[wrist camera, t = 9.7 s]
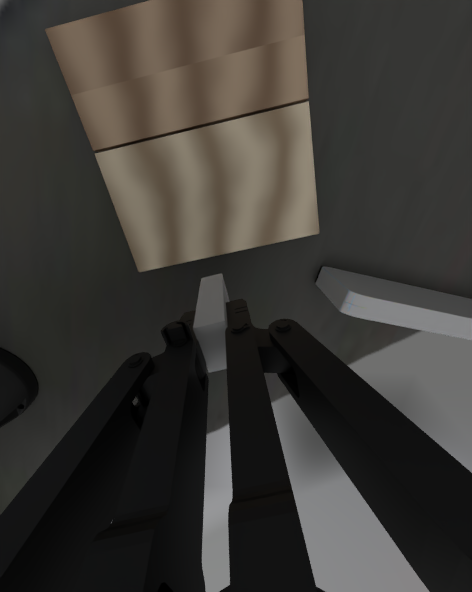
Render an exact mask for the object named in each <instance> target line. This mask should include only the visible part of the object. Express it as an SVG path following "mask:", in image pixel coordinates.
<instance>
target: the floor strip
mask: <svg viewBox="0 0 472 592" xmlns="http://www.w3.org/2000/svg"><path fill="white" fill-rule="evenodd" d="M45 31H46V33H47V36H48V38H49V41H50V43H51V46H52V48H53V51H54V53H55V56H56V58H57V61H58V63H59V66H60V68H61V71H62V73H63V76H64V78H65V81H66V83H67V86H68V88H69V91H70V93H71V96H72V98H73V101H74V104H75V106H76V109H77V111H78V114H79V116H80V119H81V121H82V124H83V126H84V129H85V131H86V134H87V136H88V139H89V141H90V144H91V146H92V149H93V151H96V152H100V151H104V150H109V149H113V148H117V147H121V146H125V145H129V144H133V143H137V142H141V141H145V140H149V139H154V138H158V137H162V136H166V135H170V134H174V133H178V132H182V131H186V130H190V129H194V128H198V127H203V126H207V125H211V124H215V123H219V122H223V121H227V120H231V119H235V118H239V117H243V116H248V115H252V114H256V113H260V112H264V111H268V110H272V109H276V108H280V107H284V106H288V105H292V104H297V103H301V102H305V101H306V100H307V99H308V98H309V97H308V81H307V66H306V50H305V35H304V19H303V4H302V0H150V1H146V2H142V3H139V4H135V5H132V6H128V7H124V8H121V9H117V10H113V11H110V12H106V13H102V14H99V15H95V16H92V17H88V18H84V19H81V20H77V21H73V22H70V23H66V24H62V25H59V26H55V27H52V28H48V29H45Z"/></svg>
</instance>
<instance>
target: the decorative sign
mask: <svg viewBox="0 0 472 592" xmlns="http://www.w3.org/2000/svg"><path fill="white" fill-rule="evenodd" d="M316 285H317V286H318V287H319V288H320V290H321V291H322V292H323V293H324V294H325V295H326V296H327V297H328V299H329V300H330V301H331V302H332V303H333V304H334V305H335V307H336V308H337V309H338V310H339V311H340V312H342V313H345V314H347V315H350V316H354V317H358V318H362V319H367V320H372V321H377V322H382V323H387V324H392V325H397V326H403V327H408V328H413V329H418V330H423V331H428V332H433V333H439V334H443V335H448V336H453V337H458V338H464V339H469V340H472V299H470V298H465V297H461V296H456V295H452V294H447V293H443V292H438V291H434V290H429V289H425V288H420V287H416V286H412V285H407V284H403V283H398V282H394V281H389V280H385V279H380V278H376V277H371V276H367V275H362V274H358V273H353V272H349V271H344V270H340V269H335V268H331V267H324V266H323V267H322V269H321V271H320V274H319V275H318V279H317V281H316Z"/></svg>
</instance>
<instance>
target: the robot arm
mask: <svg viewBox="0 0 472 592" xmlns="http://www.w3.org/2000/svg"><path fill="white" fill-rule="evenodd" d="M161 333H162V336H163V338H164V340H165V343H166V345H167V346H166V350H165V352H164V353H162V354H160V355H157V356H155V357H153V358H151V356H150V354H149V353H146V352H142V353H137V354H135V355H133V356H131V357H130V358H128V359H127V360H126V361H125V362H124V363H123V364H122V365H121V367H120V368H119V369H118V370H117V372H116V373H115V374H114V375H113V376H112V378H111V379H110V380H109V381H108V383H107V384H106V385H105V386H104V388H103V389H102V390H101V391H100V393H99V394H98V395H97V396H96V398H95V399H94V400H93V401H92V403H91V404H90V405H89V406H88V407H87V409H86V410H85V411H84V412H83V414H82V415H81V416H80V417H79V419H78V420H77V421H76V422H75V424H74V425H73V426H72V427H71V429H70V430H69V431H68V432H67V433H66V435H65V436H64V437H63V438H62V440H61V441H60V442H59V443H58V445H57V446H56V447H55V448H54V450H53V451H52V452H51V453H50V455H49V456H48V457H47V458H46V460H45V461H44V462H43V463H42V464H41V466H40V467H39V468H38V469H37V471H36V472H35V473H34V474H33V476H32V477H31V478H30V479H29V481H28V482H27V483H26V484H25V486H24V487H23V488H22V489H21V490H20V492H19V493H18V494H17V495H16V497H15V498H14V499H13V500H12V502H11V503H10V504H9V505H8V507H7V508H6V509H5V510H4V512H3V513H2V514H1V515H0V592H205V582H204V576H203V570H202V532H203V507H204V481H205V456H206V431H207V406H208V381H209V380H208V376H207V374H206V366H207V369H208V372H209V373H210V372H214V371H219V370H223V369H227V385H228V405H229V426H230V446H231V465H232V466H231V467H232V488H233V499H232V502H231V504H230V505H229V513H228V514H229V515H228V517H229V518H228V523H229V524H228V527H229V558H230V585H229V586H228V587H226V588H224V589H223V590H221V591H220V592H325V591H323V590H321V589H320V588H318V587H316V585H315V581H314V577H313V573H312V569H311V564H310V560H309V556H308V553H307V548H306V544H305V540H304V536H303V532H302V528H301V524H300V519H299V515H298V512H297V507H296V503H295V499H294V495H293V491H292V487H291V483H290V479H289V475H288V471H287V467H286V463H285V459H284V454H283V451H282V446H281V442H280V438H279V434H278V430H277V426H276V422H275V418H274V414H273V409H272V406H271V401H270V397H269V393H268V389H267V385H266V380H265V376H264V373H277V374H278V377H279V378H280V380H281V381H282V383H283V384H284V385H285V387H286V388H287V390H288V391H289V393H290V394H291V395H292V397H293V398H294V400H295V401H296V403H297V404H298V405H299V407H300V408H301V410H302V411H303V412H304V414H305V415H306V417H307V418H308V420H309V421H310V422H311V424H312V425H313V427H314V428H315V430H316V431H317V433H318V434H319V435H320V437H321V438H322V440H323V441H324V442H325V444H326V445H327V447H328V448H329V450H330V451H331V452H332V454H333V455H334V457H335V458H336V460H337V461H338V462H339V464H340V465H341V467H342V468H343V470H344V471H345V473H346V474H347V475H348V477H349V478H350V480H351V481H352V483H353V484H354V485H355V486H356V488H357V490H358V491H359V492H360V494H361V495H362V497H363V498H364V500H365V501H366V502H367V504H368V505H369V507H370V508H371V509H372V511H373V512H374V514H375V515H376V517H377V518H378V520H379V521H380V522H381V524H382V525H383V527H384V528H385V530H386V531H387V532H388V534H389V535H390V537H391V538H392V540H393V541H394V542H395V544H396V545H397V547H398V548H399V550H400V551H401V552H402V554H403V555H404V557H405V558H406V560H407V561H408V562H409V564H410V565H411V567H412V568H413V570H414V571H415V572H416V574H417V575H418V577H419V578H420V579H421V581H422V582H423V583H424V584H425V586H426V587H427V589H428V590H429V591H430V592H472V473H471V472H470V471H469V470H468V469H466V468H465V467H464V466H463V465H462V464H461V463H460V462H458V461H457V460H456V459H455V458H454V457H453V456H451V455H450V454H449V453H448V452H447V451H446V450H444V449H443V448H442V447H441V446H440V445H439V444H437V443H436V442H435V441H434V440H433V439H432V438H430V437H429V436H428V435H427V434H426V433H424V431H422V430H421V429H420V428H419V427H418V426H416V425H415V424H414V423H413V422H412V421H410V419H408V418H407V417H406V416H405V415H404V414H403V413H401V412H400V411H399V410H398V409H397V408H396V407H394V406H393V405H392V404H391V403H390V402H389V401H387V400H386V399H385V398H384V397H383V396H382V395H381V394H379V393H378V392H377V391H376V390H375V389H374V388H372V387H371V386H370V385H369V384H368V383H366V382H365V381H364V380H363V379H362V378H361V377H359V376H358V375H357V374H356V373H355V372H354V371H353V370H351V369H350V368H349V367H348V366H347V365H346V364H345V363H343V362H342V361H341V360H340V359H339V358H338V357H336V356H335V355H334V354H333V353H332V352H331V351H329V350H328V349H327V348H326V347H325V346H324V345H322V344H321V343H320V342H319V341H318V340H317V339H315V338H314V337H313V336H312V335H311V334H310V333H308V332H307V331H306V330H305V329H304V328H303V327H302V326H300V325H299V324H298V323H297V322H295V321H294V320H291V319H280V320H276V321H274V322H273V323H271V324H270V325H269V328H268V329H259V328H256V327H254V326H253V325H252V323H251V319H250V315H249V311H248V307H247V303H246V301H244V300H243V299H238V300H234V301H229V298H228V294H227V290H226V286H225V283H224V279H223V275H222V273H221V274H217V275H213V276H208V277H204V278H201V283H200V289H199V295H198V301H197V307H196V310H195V311H190V312H186V313H185V314H184V315H183V316H182V317H181V319H180V321H175V322H172V323H170V324H168V325H166V326H165V327H164V328H163V329H162V330H161ZM37 393H38V385H37V381H36V378H35V376H34V375H33V373H32V372H31V370H30V369H29V368H28V367H27V366H26V365H25V364H24V363H23V362H22V361H21V360H19V359H18V358H17V357H15V356H14V355H12V354H10V353H8V352H6V351H4V350H2V349H0V428H1V427H2V426H4V425H5V424H7V423H8V422H10V421H11V420H13V419H14V418H16V417H17V416H19V415H20V414H22V413H23V412H24V411H25V410H26V409H27V408H28V407H29V405H30V404H31V403H32V402H33V401H34V400H35V398H36V396H37ZM135 397H137V399H138V403H137V404H136V405H135V406H134V405H133V403H132V401H133V400H134V398H135ZM112 520H113V521H112ZM111 522H112V523H111Z"/></svg>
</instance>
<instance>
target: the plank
mask: <svg viewBox="0 0 472 592" xmlns="http://www.w3.org/2000/svg"><path fill="white" fill-rule="evenodd" d="M95 156H96V159H97V162H98V164H99V167H100V170H101V172H102V175H103V178H104V180H105V183H106V186H107V188H108V191H109V194H110V196H111V199H112V202H113V204H114V207H115V210H116V212H117V215H118V218H119V220H120V223H121V226H122V228H123V231H124V234H125V236H126V239H127V242H128V244H129V247H130V250H131V253H132V255H133V258H134V261H135V263H136V266H137V269H138V271H139V272H143V271H148V270H152V269H157V268H162V267H166V266H171V265H175V264H180V263H185V262H189V261H194V260H199V259H203V258H208V257H212V256H217V255H222V254H226V253H231V252H236V251H240V250H245V249H250V248H254V247H259V246H263V245H268V244H273V243H277V242H282V241H287V240H291V239H296V238H300V237H305V236H310V235H314V234H319V222H318V210H317V197H316V185H315V173H314V160H313V148H312V135H311V123H310V110H309V102H304V103H300V104H296V105H292V106H288V107H284V108H280V109H276V110H272V111H268V112H264V113H259V114H255V115H251V116H247V117H243V118H239V119H235V120H231V121H227V122H223V123H219V124H214V125H210V126H206V127H202V128H198V129H194V130H190V131H186V132H182V133H178V134H174V135H169V136H165V137H161V138H157V139H153V140H149V141H145V142H141V143H137V144H133V145H129V146H125V147H120V148H116V149H112V150H108V151H104V152H100V153H96V154H95Z"/></svg>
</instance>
